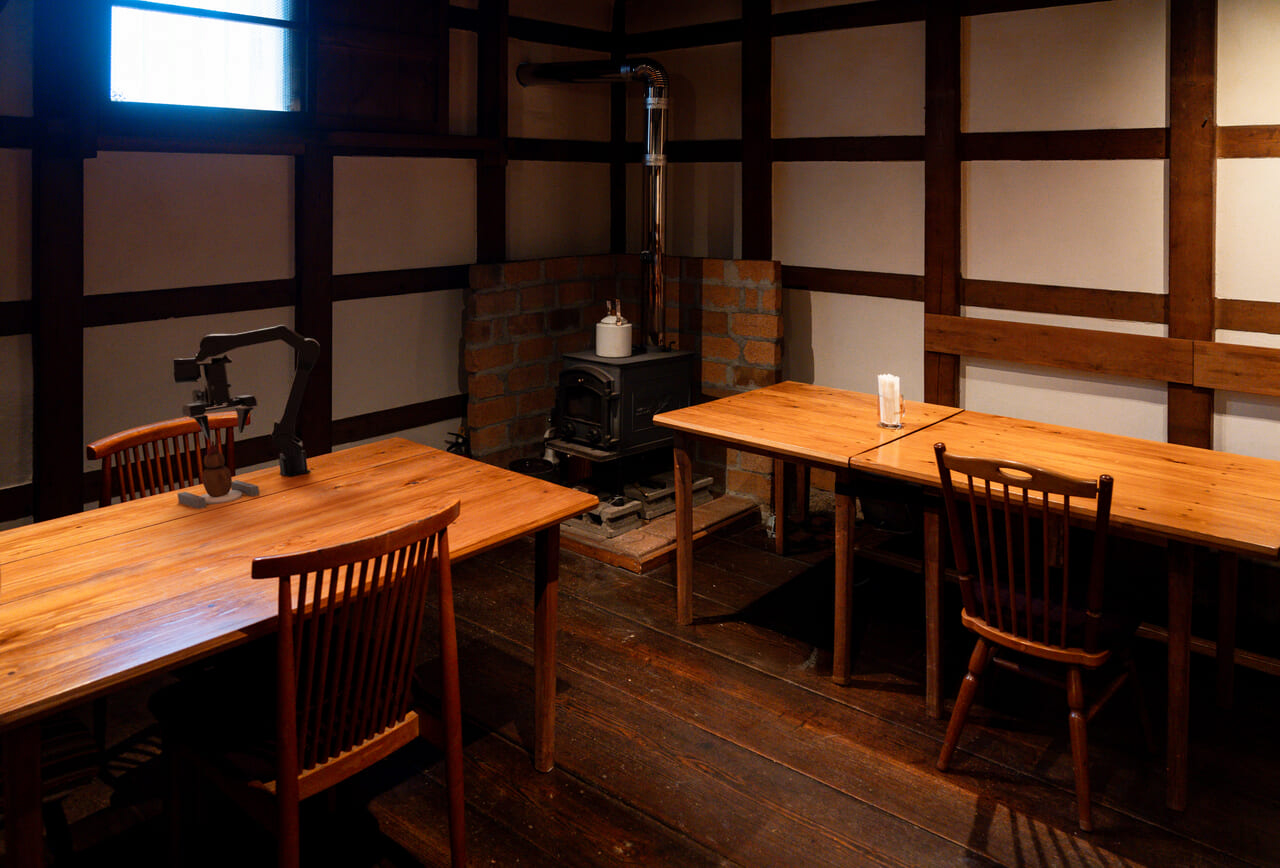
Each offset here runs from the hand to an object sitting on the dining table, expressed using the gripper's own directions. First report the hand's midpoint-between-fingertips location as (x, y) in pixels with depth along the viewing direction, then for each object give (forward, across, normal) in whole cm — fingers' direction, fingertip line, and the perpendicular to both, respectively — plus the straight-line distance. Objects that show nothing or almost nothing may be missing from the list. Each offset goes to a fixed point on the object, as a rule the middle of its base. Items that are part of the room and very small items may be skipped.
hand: (224, 436), depth 272 cm
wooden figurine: (+12, +11, +17) cm, 24 cm away
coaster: (+13, +11, +17) cm, 24 cm away
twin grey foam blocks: (+13, +11, +17) cm, 24 cm away
